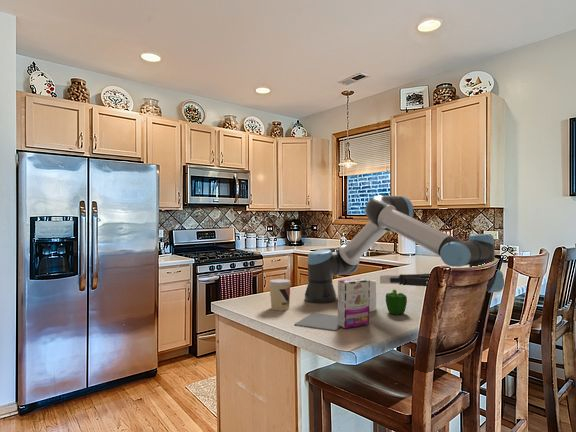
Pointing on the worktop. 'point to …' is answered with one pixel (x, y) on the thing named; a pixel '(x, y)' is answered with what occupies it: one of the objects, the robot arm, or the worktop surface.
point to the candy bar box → (353, 302)
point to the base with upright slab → (372, 296)
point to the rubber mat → (320, 321)
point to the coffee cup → (280, 293)
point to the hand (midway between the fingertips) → (380, 279)
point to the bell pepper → (396, 302)
